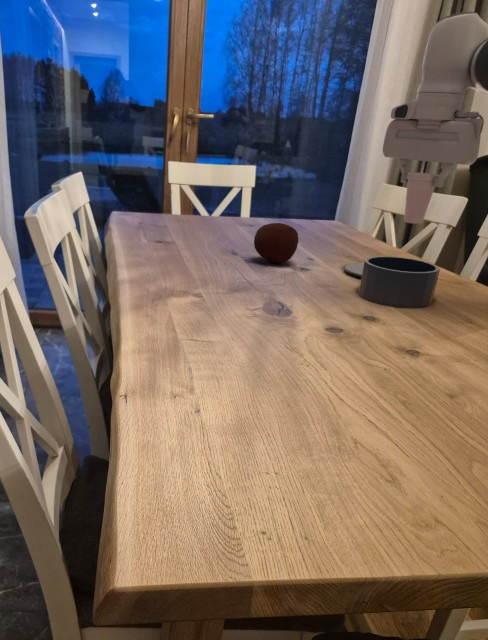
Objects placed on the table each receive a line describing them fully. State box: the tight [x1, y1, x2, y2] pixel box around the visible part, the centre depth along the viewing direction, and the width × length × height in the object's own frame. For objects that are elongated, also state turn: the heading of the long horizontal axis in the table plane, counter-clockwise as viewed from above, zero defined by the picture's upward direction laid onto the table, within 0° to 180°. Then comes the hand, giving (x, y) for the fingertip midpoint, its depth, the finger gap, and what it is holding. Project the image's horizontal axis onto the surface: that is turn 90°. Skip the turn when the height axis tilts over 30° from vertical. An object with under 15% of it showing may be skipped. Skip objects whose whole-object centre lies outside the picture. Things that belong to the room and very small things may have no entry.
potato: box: [253, 222, 300, 264], centre depth 153 cm, size 11×13×10 cm
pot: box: [358, 255, 441, 309], centre depth 127 cm, size 16×16×8 cm
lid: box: [344, 255, 377, 278], centre depth 147 cm, size 17×17×5 cm
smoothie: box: [403, 161, 439, 225], centre depth 120 cm, size 6×6×14 cm
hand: (420, 184), depth 120 cm, fingers closed on smoothie, 6 cm apart
